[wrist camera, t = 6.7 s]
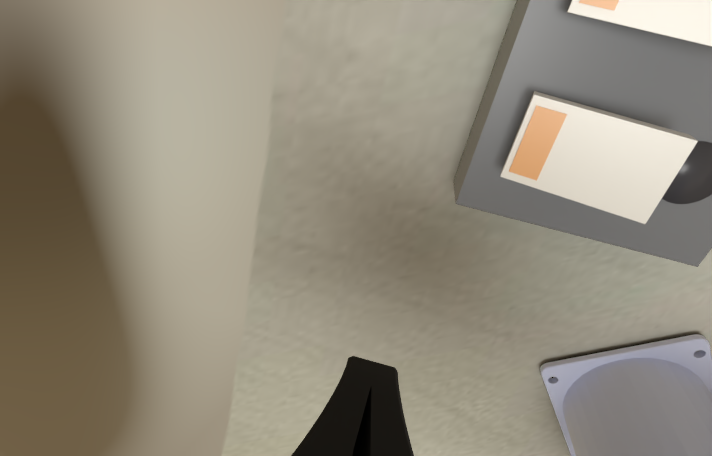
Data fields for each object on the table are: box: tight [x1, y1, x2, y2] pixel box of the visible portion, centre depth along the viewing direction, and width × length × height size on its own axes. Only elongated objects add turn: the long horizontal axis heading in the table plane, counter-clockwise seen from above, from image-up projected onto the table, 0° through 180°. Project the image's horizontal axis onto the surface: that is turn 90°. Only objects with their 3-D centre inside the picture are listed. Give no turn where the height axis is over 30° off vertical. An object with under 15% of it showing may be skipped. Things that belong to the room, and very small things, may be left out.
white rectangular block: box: [500, 91, 698, 224], centre depth 15 cm, size 3×5×1 cm, turn 78°
